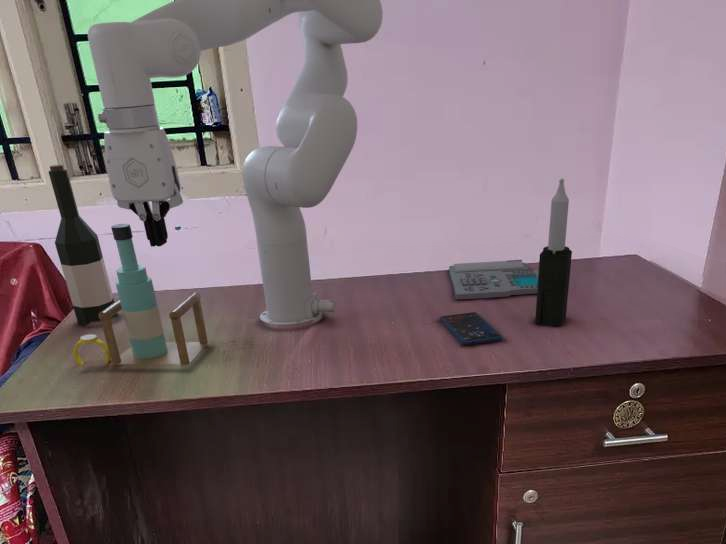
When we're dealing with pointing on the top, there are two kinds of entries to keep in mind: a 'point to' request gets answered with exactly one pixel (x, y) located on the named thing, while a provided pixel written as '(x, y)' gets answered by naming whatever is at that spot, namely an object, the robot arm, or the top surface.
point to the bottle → (138, 299)
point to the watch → (90, 339)
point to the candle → (554, 266)
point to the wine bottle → (79, 254)
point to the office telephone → (493, 279)
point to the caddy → (176, 351)
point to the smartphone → (470, 328)
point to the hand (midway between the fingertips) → (159, 244)
